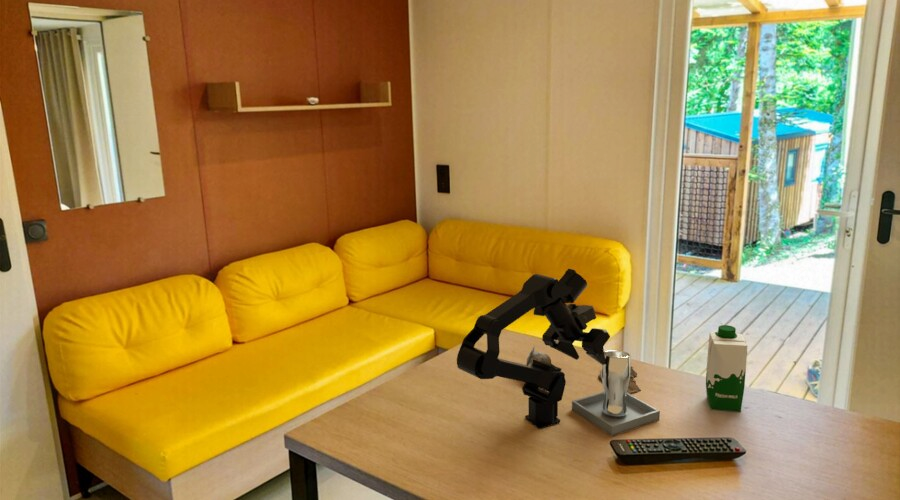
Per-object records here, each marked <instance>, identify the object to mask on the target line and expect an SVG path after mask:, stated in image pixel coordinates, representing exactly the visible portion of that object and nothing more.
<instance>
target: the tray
mask: <svg viewBox="0 0 900 500" xmlns="http://www.w3.org/2000/svg"><path fill="white" fill-rule="evenodd" d="M603 402H604V391H600V392H597V393H594V394H591V395H587V396H585V397H584V396H583V397H581V398H578V399H574V400H572V401H571V410H572V411H573V412H574V413H575V414H577V415H579V416H580V417H582V418H583V419H584V420H587V421H588V422H590V423H591V424H592V425H593V426H595V427H597V428H598V429H600V430H602V431H603V432H604V433H606V434H608V435H609V436H611V437H614V436H617V435H620V434H622V433H625V432H629V431H631V430H634V429H637V428H640V427H643V426H646V425H650V424H652V423H655V422H658V421H660V414H661V413H660V412H661V411H660V410H659V409H658V408H656V407H654V406H652V405H650V404H648V403H647V402H645V401H643V400H641V399H639V398H637V397H635V396H634V395H633V394H631V395H630V394H629V393H627V394H626V408H627V414H626V415H625V416H620V417H615V416H609V415H606V414H604V413H603V412H602V407H603Z"/></svg>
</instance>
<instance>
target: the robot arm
mask: <svg viewBox="0 0 900 500" xmlns="http://www.w3.org/2000/svg"><path fill="white" fill-rule="evenodd" d="M587 287H588V283H587V280H586V279H585V278H584V277H583V276H581V274H579V273H578V272H576V269H573V268H568V269H566V271H565V272H564V274H562V276H561V278H560V279H558V278H556V277H555V278H554V277H551V276H547V275H544V274H540V273H534V274H532V275H531V276H530V277H529V278H528V279H527V280H526V281H525V282H524V283H523V285H522V288H521V289H520V291H519V292H517V293H516V294H514V295H513V296H511V297H509V298H508V299H507V300H505V301H503V302H502V303H501V304H499V305H498V306H496V307H495V308H493V309H491V310H490V311H489V312H487V313H485V314H481V315H480V316H478V317H477V319H476V320H475V324H474V326H473V328H472V329H471V330H470V331H469V332H468V334H467V335H466V336H464V338H463V339H462V342H461V344H460V347H459V351H458V353H457V356H456V366H457V368H458V369H459V370H461V371H462V372H465V373H467V374H469V375H471V376H473V377H475V378H478V379H480V380H492V379H494V378H496V377H499V378H504V379H509V380H513V381H518V382H523V383H524V384H523V386H522V388H521V390H522V393H523V395H524V396H527V397H528V402H527V403H528V414H527V415H525V416H524V419H526V421H528V422H529V423H531V424H532V425H533V426H535V427H536V428H537V429H543V428H546V427H550V426H553V425H556V424H560V423H561V419H560V418H559V417H558V415H559V413H558V411H559V410H558V409H559V405H558V403H559V402H561V401H562V399H563V396H564V391H565V389H566V388H565V387H566V377H565V376H566V374H565V373H564V372H563V371H562V368H561V367H558V366H556V365H554V364H553V365H554V366H553V365H551V364H552V363H551V364H548V363H546V362H543V361H537V360H534V359H533V363H532V365H530V366H527V365H526V364H523V363H518V362H514V361H511V360H508V359H507V360H506V359H503V358H499V355H500V336H501V333H502V331H503V330H505V329H506V328H507V327H509V326H510V325H511V324H513V323H514V322H516V321H518V320H519V319H520V318H521V317H523V316H524V315H526V314H527V313H529V312H530V311H532V310H533V315H534V316H540V317H545V318H546V319H547V321H548V322H549V326H548V327H547V329H546V330H545V331H544V333H543V334H542V338H541V339H542V342H543V343H544V345H545V346H549V347H550V348H551V349H554V350H557V351H558V352H560V353H562V354H564V355H567V356H568V357H569V358H572V359H574V360H576V361H577V360H579V358H580V355H579V353H578V351H577V349H576V347H575V346H574V345H573V344H574V343H575V342H576V341H577V342H581V348H582V349H583V351H585V354H586V355H587V356H589V357H590V358H591V359H593V360H595V361H596V362H598V363H599V364H600V365H601V366H602V365H604V364H605V361H606V360H605V355H604V350H605V349H604V346H605V344H606V343H607V342H608V340H610V339H611V335H610V333H609V332H608V331H607V329H604V328H603V329H602V328H596V327H595V328H594V327H593V328H591V329H590V330H589V332H586V329H587V328H588V325H587V324H588V323H589V322H591V321H595V320H596V319H597V316H596V315H597V314H596V312H595V308H594V305H590V304H589V305H587V304H582V305H577V304H575V302H576V300H577V299H578V298H579V297H580V296H581V294H582V293H583V292H584V290H585V289H586V288H587ZM584 330H585V331H584ZM484 335H486V345H487V346H486V347H487V349H486V351H483V350H482V349H480V348H476V347H475V345H476V344H477V343H478V342H479V340H480V339H481V338H483V336H484Z"/></svg>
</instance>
